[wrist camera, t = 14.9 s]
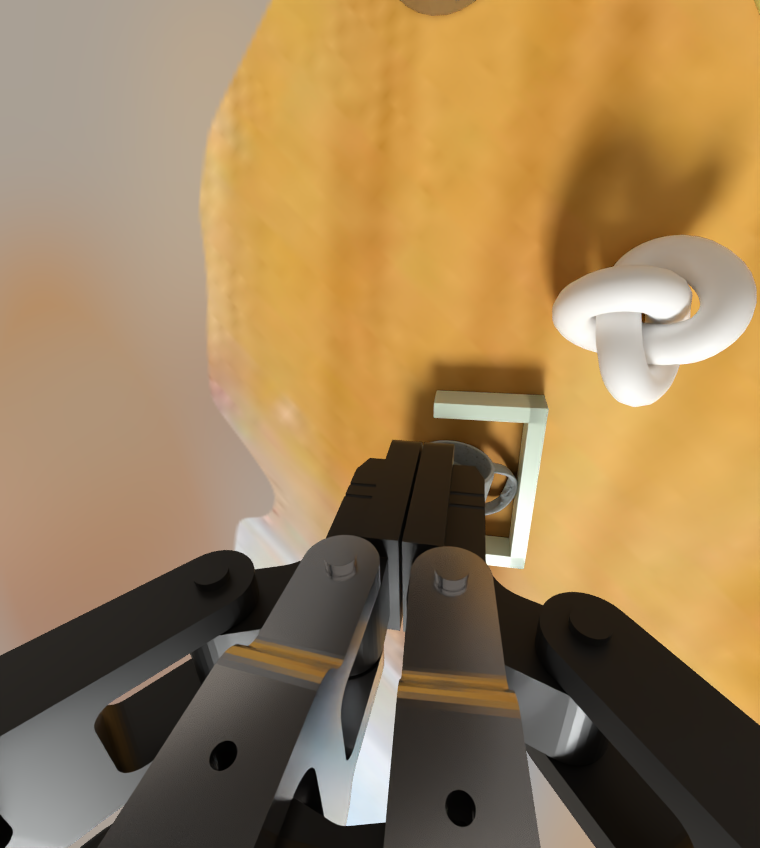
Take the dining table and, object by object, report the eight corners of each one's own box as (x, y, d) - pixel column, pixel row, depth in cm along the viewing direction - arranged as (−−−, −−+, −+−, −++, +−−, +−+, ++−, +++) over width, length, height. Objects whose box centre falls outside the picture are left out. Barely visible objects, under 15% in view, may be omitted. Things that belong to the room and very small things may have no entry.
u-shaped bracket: (432, 539, 52) (430, 558, 50) (436, 390, 43) (433, 403, 41) (521, 549, 50) (523, 569, 48) (544, 395, 41) (548, 408, 39)
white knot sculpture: (523, 353, 40) (534, 393, 32) (578, 209, 34) (607, 215, 26) (650, 385, 39) (692, 434, 32) (728, 243, 33) (804, 259, 26)
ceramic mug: (411, 497, 50) (401, 545, 43) (419, 434, 46) (410, 476, 39) (507, 513, 49) (513, 564, 42) (523, 449, 45) (533, 495, 38)
